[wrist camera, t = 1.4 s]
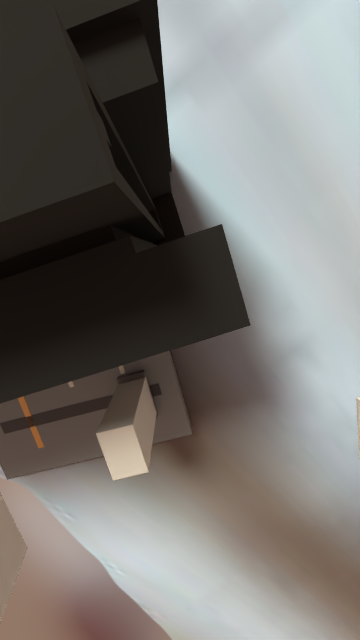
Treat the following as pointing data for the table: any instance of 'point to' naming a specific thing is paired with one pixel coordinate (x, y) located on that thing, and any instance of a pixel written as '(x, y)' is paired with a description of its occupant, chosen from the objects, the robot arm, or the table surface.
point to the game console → (94, 201)
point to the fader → (129, 427)
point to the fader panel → (83, 417)
